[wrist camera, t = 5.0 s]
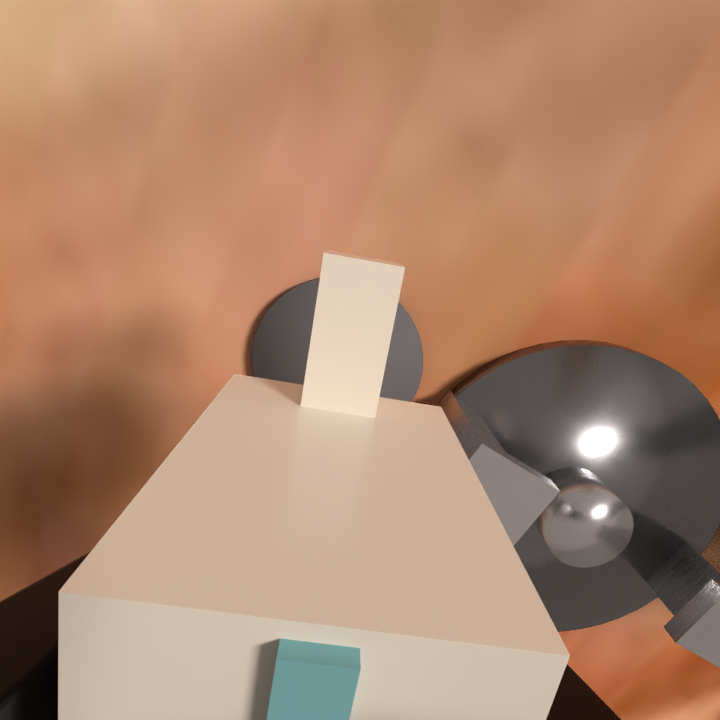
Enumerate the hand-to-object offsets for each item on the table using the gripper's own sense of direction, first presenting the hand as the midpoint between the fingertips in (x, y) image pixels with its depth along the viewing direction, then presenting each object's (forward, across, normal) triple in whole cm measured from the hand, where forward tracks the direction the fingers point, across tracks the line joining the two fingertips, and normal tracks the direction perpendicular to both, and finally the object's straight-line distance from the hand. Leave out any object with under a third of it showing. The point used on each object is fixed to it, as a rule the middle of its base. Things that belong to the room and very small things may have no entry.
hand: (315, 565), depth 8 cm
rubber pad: (+12, 0, 0) cm, 12 cm away
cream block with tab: (+3, 0, 0) cm, 3 cm away
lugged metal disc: (+12, -11, +4) cm, 17 cm away
